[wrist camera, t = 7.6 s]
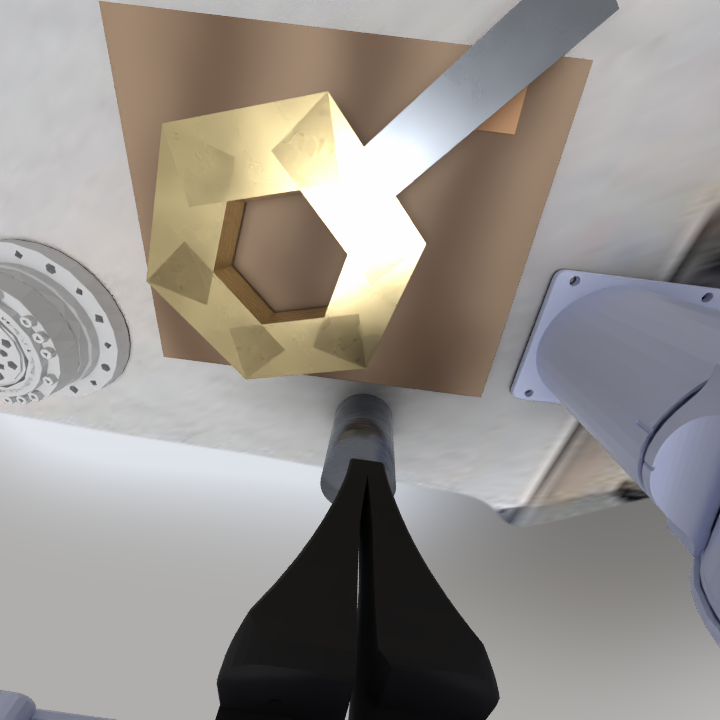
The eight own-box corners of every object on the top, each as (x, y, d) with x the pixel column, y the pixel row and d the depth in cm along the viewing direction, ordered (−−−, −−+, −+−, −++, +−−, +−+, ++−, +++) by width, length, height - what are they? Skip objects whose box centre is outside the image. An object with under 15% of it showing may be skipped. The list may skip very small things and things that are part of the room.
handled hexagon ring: (295, 401, 20) (282, 430, 17) (119, 219, 16) (65, 222, 13) (618, 185, 14) (674, 179, 11) (467, -201, 10) (500, -356, 7)
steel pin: (396, 398, 21) (401, 463, 16) (387, 444, 23) (389, 516, 17) (337, 390, 21) (322, 452, 16) (333, 437, 23) (318, 507, 17)
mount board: (578, 70, 13) (594, 59, 12) (476, 389, 20) (481, 398, 19) (117, 14, 14) (97, -1, 13) (173, 350, 20) (162, 357, 20)
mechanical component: (84, 226, 18) (-61, 252, 19) (-3, 230, 14) (-179, 263, 15) (158, 378, 22) (35, 392, 23) (108, 416, 18) (-36, 430, 19)
